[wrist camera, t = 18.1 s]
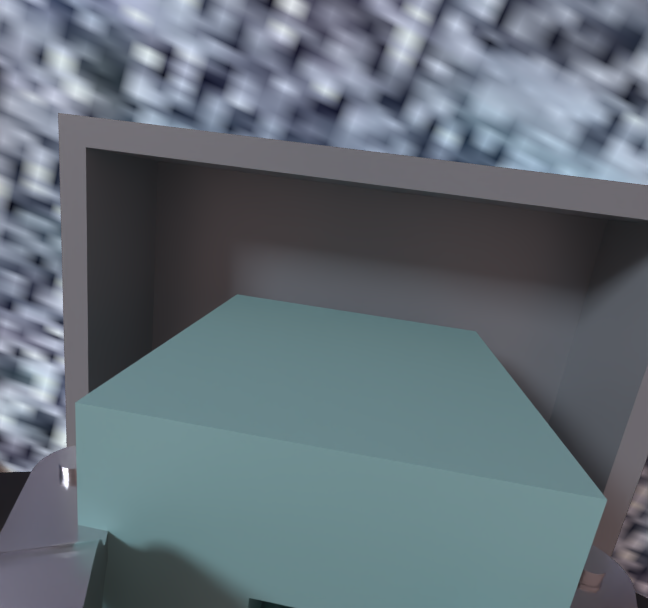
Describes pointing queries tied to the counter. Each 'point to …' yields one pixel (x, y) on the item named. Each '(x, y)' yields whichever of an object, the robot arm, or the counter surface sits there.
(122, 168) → the tray
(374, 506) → the teal block
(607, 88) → the counter surface
